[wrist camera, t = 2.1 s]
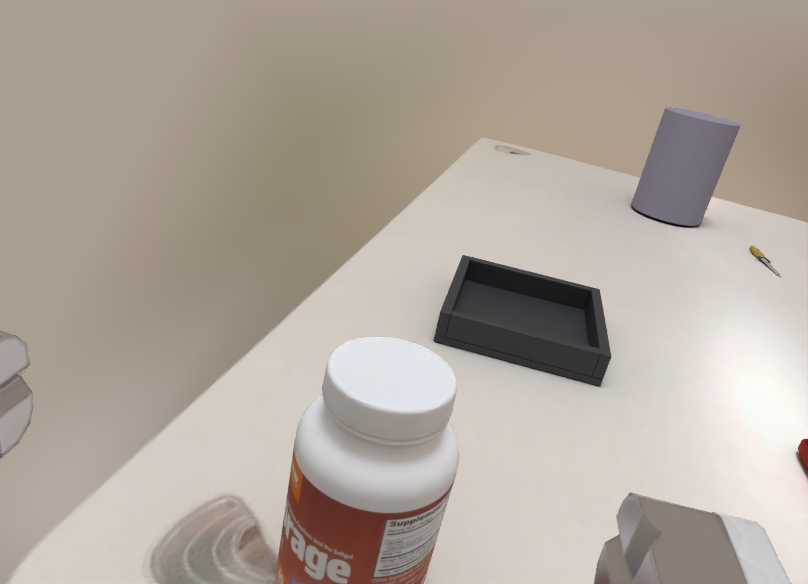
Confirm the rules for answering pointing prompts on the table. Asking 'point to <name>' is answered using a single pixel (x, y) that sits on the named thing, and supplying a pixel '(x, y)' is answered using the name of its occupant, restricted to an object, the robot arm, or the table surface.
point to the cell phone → (804, 451)
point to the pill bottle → (371, 467)
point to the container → (684, 166)
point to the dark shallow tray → (526, 320)
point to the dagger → (762, 258)
